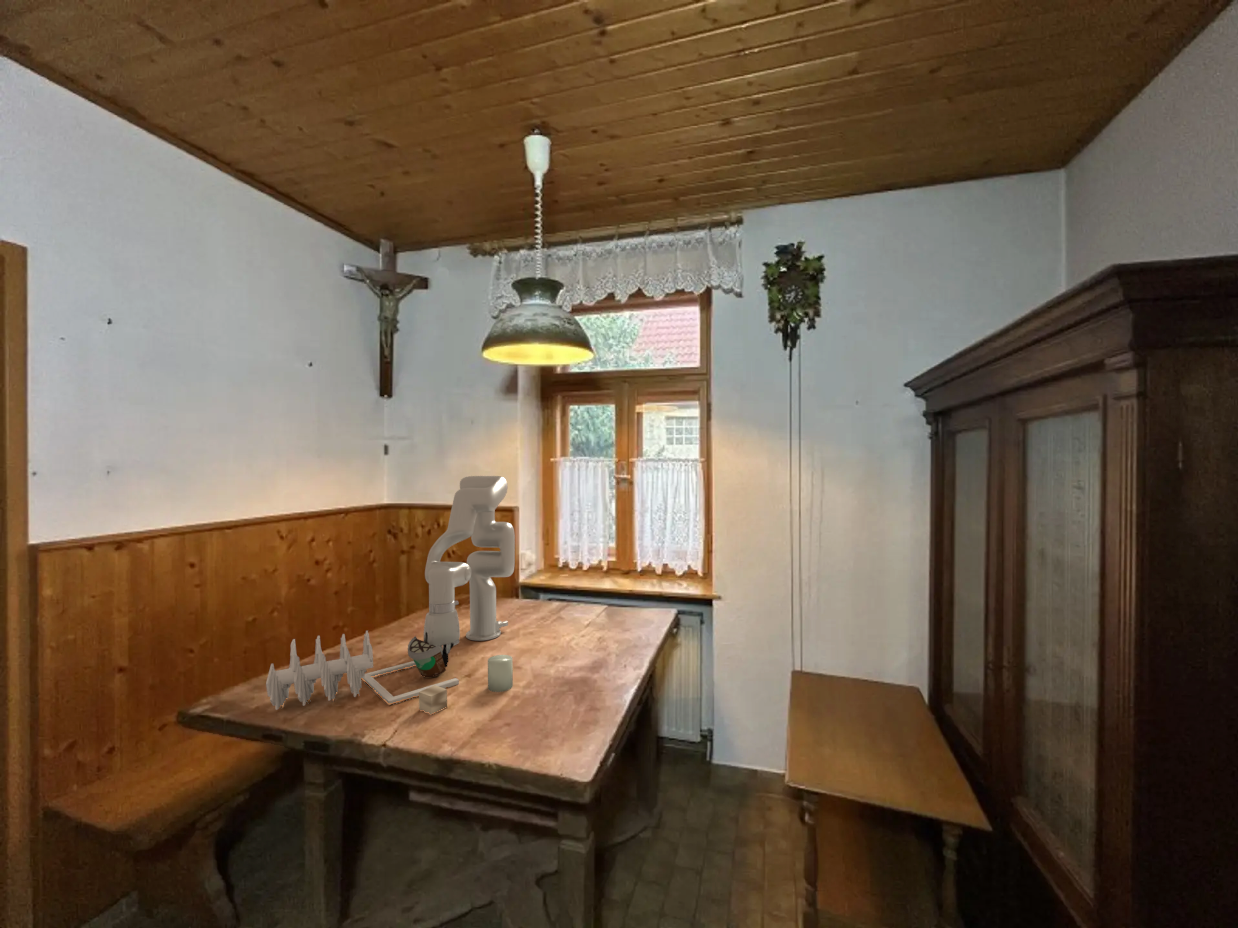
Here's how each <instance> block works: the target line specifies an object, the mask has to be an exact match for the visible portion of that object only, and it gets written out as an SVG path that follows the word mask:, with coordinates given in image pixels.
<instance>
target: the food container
mask: <svg viewBox="0 0 1238 928" xmlns="http://www.w3.org/2000/svg"><path fill="white" fill-rule="evenodd" d="M441 651H443V650H441V648H440V647H439V645H437V646H434V645H429V643H427V642H426V641H424V640H422V639H419V638H417V636H416V635H415V636H414V637H412V638H411V639H410V641H409V642H408V644H407V655H408V657H409V658H410V659H411V660H412V661H414V662H415V664H416V668H417V670H418V673H419V674H420V675H422V676H425V677H432V678H435V677H439V675H441V674H443V673H445V672H446V671H447V669H446V668H447V667H445V665H444V661H443V658H442V655H441ZM422 676H421V677H422ZM425 677H424V678H425Z"/></svg>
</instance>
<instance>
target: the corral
mask: <svg viewBox="0 0 1238 928" xmlns="http://www.w3.org/2000/svg"><path fill="white" fill-rule="evenodd" d="M413 665H416V664H415V662H414V660H412V661H409V662H408V661H407V662H404V663H401V664H397V665H393V666H389V667H386V668H381V669H378V670H375V671H371V672H365V676H364V677H363V676H362V677H361V678H363V679H364V680H365V681H366V682H367V683H368V684H369V685H370V686H371V687H372V688H374V690H376V692H378V694H380V696H382V698H383V699H385V700H386V701H387V702H388V703H393V702H396V701H400V700H402V699H407V698H411V697H413V696H418V695H419V692H420V691H422V690H425V689H427V688H429V687H431V686H434V685H436V686H439V687H442V688H445V689H447V688H446V687H448V688H450V687H453V686H458V685H459V684H460V679H458V678H457V677H454V678H451V679H448V680H444V681H440V682H437V683H435V684H430V685H427V686H424V687H421V688H418V689H415V690H412V691H408V692H404V693H401V694H398V695H395V696H393V694H391V693H390V692H389V691H388V689H386V688H385V687H384V686H382V685H381V683H379V682H378V681H377V680H376V679H375V678H373V677H371V676H375V675H378V674H383V673H386V672H391V671H393V670H398V669H403V668H405V667H410V666H413Z"/></svg>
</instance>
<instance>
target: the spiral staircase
mask: <svg viewBox="0 0 1238 928" xmlns="http://www.w3.org/2000/svg"><path fill="white" fill-rule="evenodd" d="M363 635H364V638H363V642H362V645H363V647H362V649H363V651H362V654H359V655H355V656H354V655H353V656H351V653H350V651H349V648H348V647H347V642H346V635H345V633H342V635H341V637H340V647H339V648H340V649H339V658H338V659H332V660H328V661H327V660H326V659H327V658H326V656H325V653H323V651H322V647H321V636H320V635H317V637H316V639H315V649H314V651H315V652H314V659H313V660H314V661H313V663H311V664H307V665H301V661H300V657H299V656H298V655H297V646H296V638H293V639H292V641H291V643H290V654H289V656H290V657H289V658H290V659H289V667H288V668H285V669H280V670H276V669H275V666H274V663H270V667H269V671H268V673H267V674H268V675H267V678H266V680H265V681H266V683H265V688H266V692H267V697H270V698H269V701H270V704H271V705H272V706H273V707H274V706H275V707H274V708H275V710H276V711H277V710H279V709H280V708H281V707H280V705H283V703H284V701H285V702H286V700H285V699H286V698H288V699H289V695H290V694H289V691H290V688H291V687H292V684H293V686H294V692H295V695H297V699H298V701H299V702H300V703H302V706H306V705H307V703H308V701H307V700H309V699H310V697H312V694H314V693H313V692H314V689H315V687H314V686H315V685H314V684H316V683H317V679H320V681H321V687H323V690H324V691H323V692H324V695H325V697H326V698H327V700H328V701H331V700H332V699H334V698H335V699H336V695H335V694H336V692H338V693H339V683H340V682H341V680H342V677H344V674H346V679H347V685H349V689H350V692H351V694H353V697H354V698H356V697H357V694H359V695H360V692H359V690H360V691H361V689H360V688H362V680H361V677H362V676H363V677H364V676H365V674H366V673H368V672H367V670H368V669H373V668H374V657H373V655H374V654H373V647H372V644H371V643H370V642H371V641H370V633H369V630H365V633H364V634H363ZM306 702H307V703H306ZM279 707H280V708H279Z"/></svg>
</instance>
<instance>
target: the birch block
mask: <svg viewBox="0 0 1238 928" xmlns="http://www.w3.org/2000/svg"><path fill="white" fill-rule="evenodd" d="M433 685H434V684H433ZM430 686H431V685H430ZM445 707H447V708H448V689H447V688H442V687H439V686H436V685H434V686H431V687H429V688H427V689H425V690H422V691H420V692H419V697H418V710H419V709H420V710H424V711H425V712H429V713H430V714H432V713H434V712H437V711H439V710H441V709H443V708H445ZM443 710H444V709H443ZM441 711H442V710H441ZM439 712H440V711H439ZM437 713H438V712H437Z"/></svg>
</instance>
